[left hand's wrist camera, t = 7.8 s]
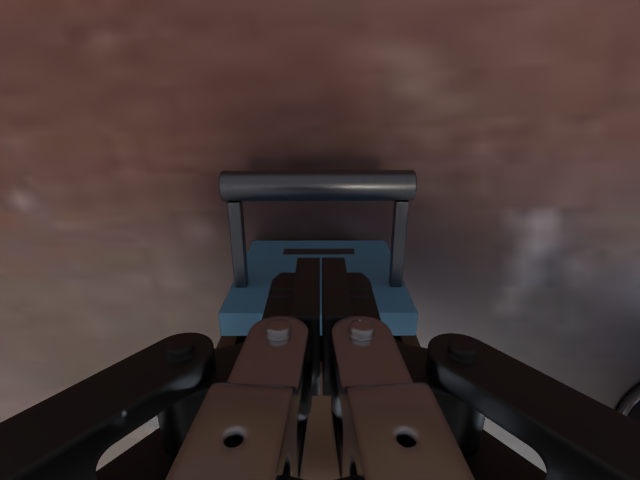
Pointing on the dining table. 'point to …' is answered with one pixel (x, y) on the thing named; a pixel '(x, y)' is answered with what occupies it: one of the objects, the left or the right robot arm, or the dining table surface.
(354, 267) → the drawer
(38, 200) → the dining table surface
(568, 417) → the left robot arm
